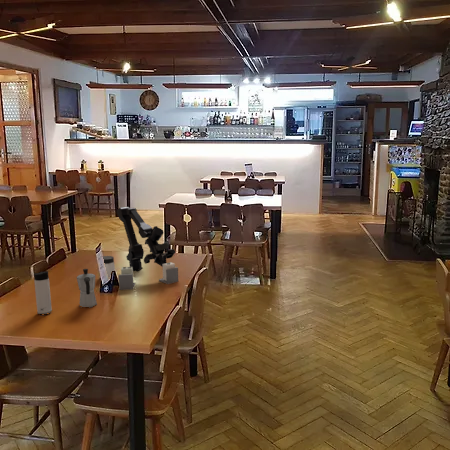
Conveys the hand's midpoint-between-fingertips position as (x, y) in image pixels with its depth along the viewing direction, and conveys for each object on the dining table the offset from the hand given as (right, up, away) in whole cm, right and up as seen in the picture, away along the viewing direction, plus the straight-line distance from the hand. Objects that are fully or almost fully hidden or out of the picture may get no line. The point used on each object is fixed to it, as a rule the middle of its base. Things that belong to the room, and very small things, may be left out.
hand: (166, 268), depth 266 cm
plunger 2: (+2, -6, -1) cm, 6 cm away
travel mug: (-51, -17, -44) cm, 70 cm away
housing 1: (-20, -9, -9) cm, 24 cm away
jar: (-35, -6, +8) cm, 36 cm away
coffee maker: (-33, -15, -36) cm, 51 cm away
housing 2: (+1, -7, 0) cm, 7 cm away
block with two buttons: (-20, -8, -7) cm, 23 cm away
